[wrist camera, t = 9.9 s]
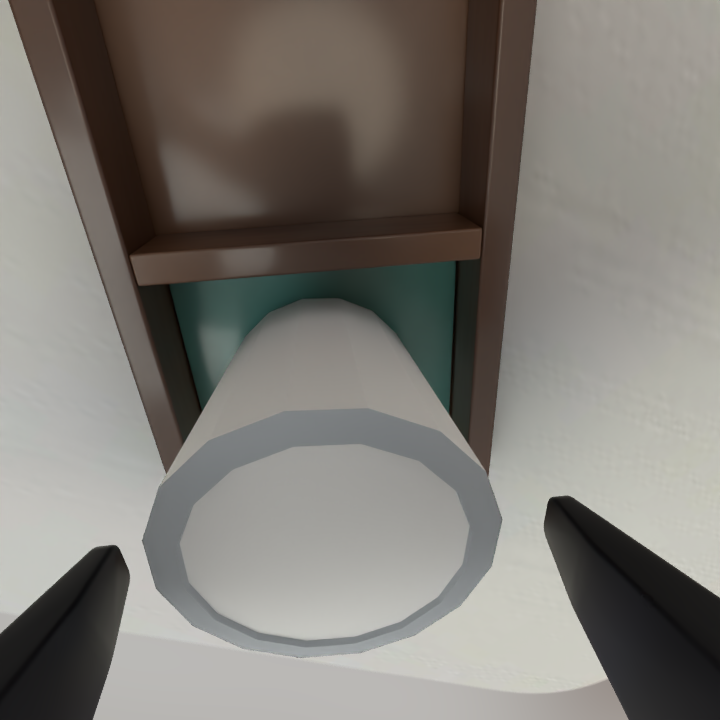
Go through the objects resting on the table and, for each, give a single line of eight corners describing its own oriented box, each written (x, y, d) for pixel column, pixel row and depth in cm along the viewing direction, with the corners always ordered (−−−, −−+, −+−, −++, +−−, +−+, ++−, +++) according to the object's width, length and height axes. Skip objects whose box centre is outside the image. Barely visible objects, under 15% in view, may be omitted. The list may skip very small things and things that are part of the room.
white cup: (435, 439, 16) (508, 629, 10) (250, 476, 16) (212, 688, 10) (412, 256, 13) (499, 372, 7) (183, 302, 13) (68, 459, 7)
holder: (208, 493, 18) (191, 553, 15) (-7, -262, 9) (-133, -415, 6) (461, 466, 18) (485, 520, 16) (509, -269, 9) (581, -414, 7)
